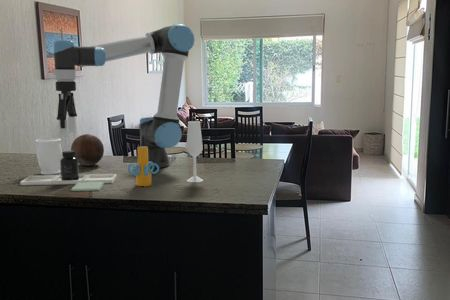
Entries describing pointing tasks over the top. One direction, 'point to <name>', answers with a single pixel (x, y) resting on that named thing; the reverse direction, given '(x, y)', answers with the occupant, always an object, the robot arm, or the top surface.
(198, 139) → the champagne flute
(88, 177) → the tray
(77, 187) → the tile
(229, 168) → the top surface
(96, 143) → the wooden sphere
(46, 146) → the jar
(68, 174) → the supplement bottle
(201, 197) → the top surface
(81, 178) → the tray middle
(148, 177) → the orange and blue toy
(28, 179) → the tray
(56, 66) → the robot arm
